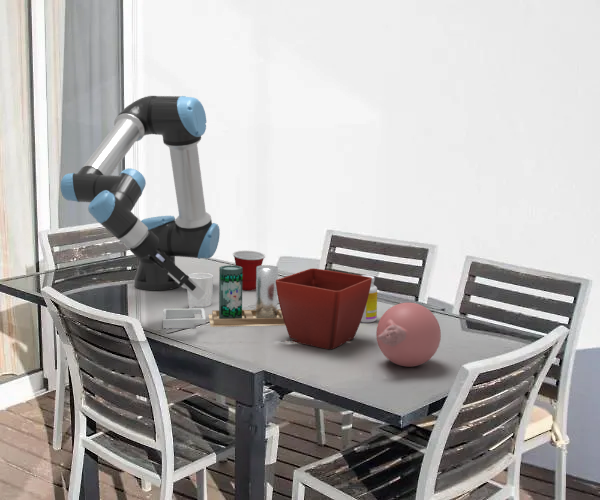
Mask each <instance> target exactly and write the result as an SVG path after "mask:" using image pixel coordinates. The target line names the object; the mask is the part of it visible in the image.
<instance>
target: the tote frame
mask: <svg viewBox="0 0 600 500" xmlns="http://www.w3.org/2000/svg"><path fill="white" fill-rule="evenodd" d="M162 309H163V311H162V329H164V328H166V329H167V330H168V329H169V328H172V329H196V328H197V325H206V323H207V322H206V321H207V319H206V312H205V308H204V307H195V308H194V309H189V308H162ZM197 314H200V315H201V318H195V317H196V315H197ZM166 329H164V330H166Z"/></svg>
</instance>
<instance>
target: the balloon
mask: <svg viewBox="0 0 600 500" xmlns="http://www.w3.org/2000/svg"><path fill="white" fill-rule="evenodd" d="M375 336H376V342H377V345H378V348H379V350H380V351H381V353H382V354H383V356H384V357H385V358H386V359H387V360H388V361H390V362H392V363H393V364H395V365H397V366H400V367H407V368H409V367H417V366H421V365H423V364H426V362H428V361H429V360H431V358H433V357H434V356H435V354H436V353H437V351H438V349H439V347H440V343H441V338H442V334H441V327H440V323H439V321H438V319H437V318H436V316H435V314H434V312H432V311H431V310H430V309H428V307H426V306H424V305H422V304H419V303H416V302H401V303H397V304H395V305H393V306H391V307H390V308H388V309H387V310H386V311H385V312H384V313H383V314H382V316H381V317H380V319H379V321H378V324H377V325H376V335H375Z"/></svg>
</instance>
